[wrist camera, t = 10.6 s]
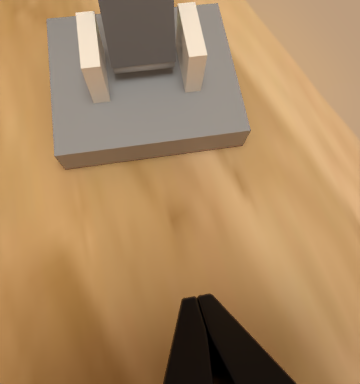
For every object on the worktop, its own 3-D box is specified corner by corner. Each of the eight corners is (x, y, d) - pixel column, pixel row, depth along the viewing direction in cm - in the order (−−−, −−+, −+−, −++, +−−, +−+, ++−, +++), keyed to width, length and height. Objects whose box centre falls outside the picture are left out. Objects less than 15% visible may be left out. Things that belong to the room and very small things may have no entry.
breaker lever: (177, 73, 23) (170, -87, 17) (113, 80, 22) (81, -82, 16) (172, 59, 25) (164, -91, 18) (112, 66, 24) (84, -86, 18)
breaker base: (242, 145, 26) (266, 100, 20) (65, 169, 24) (32, 129, 18) (213, 26, 29) (226, -43, 23) (56, 42, 28) (26, -27, 22)
